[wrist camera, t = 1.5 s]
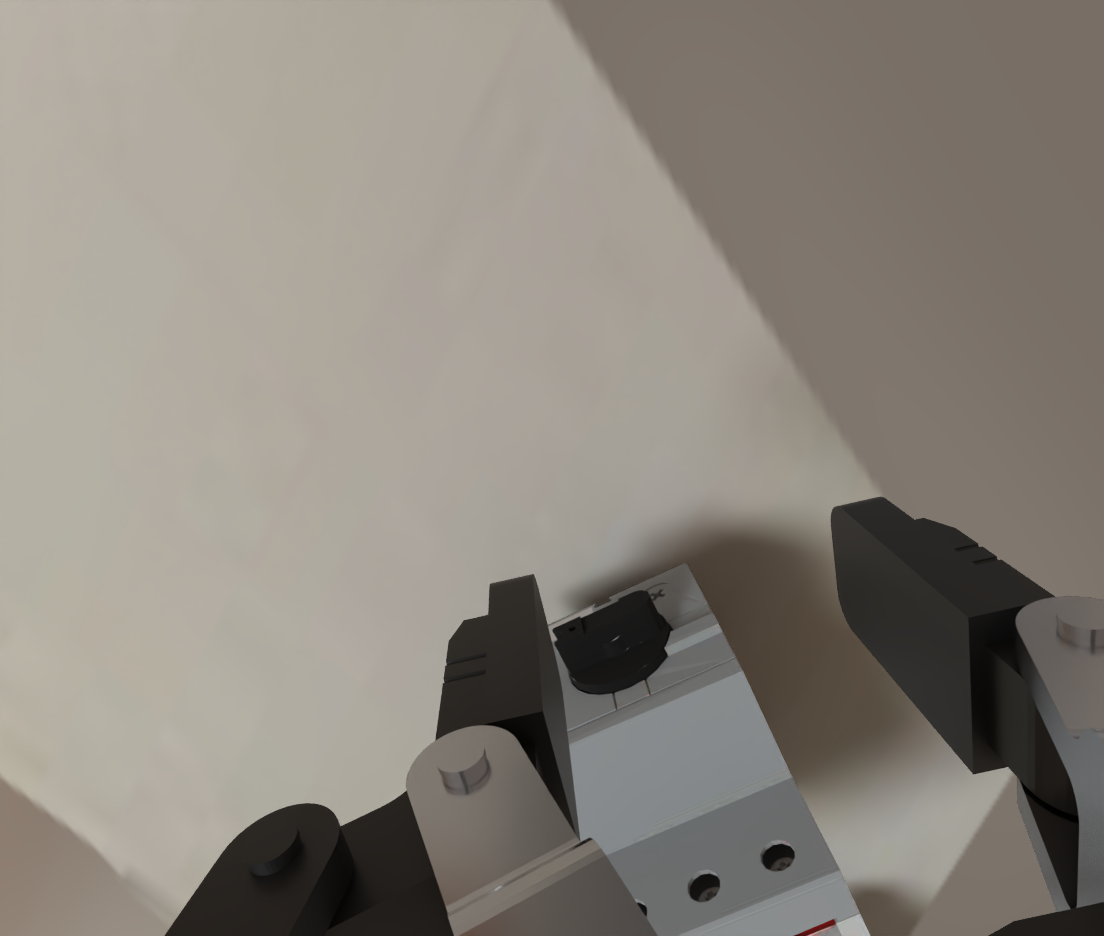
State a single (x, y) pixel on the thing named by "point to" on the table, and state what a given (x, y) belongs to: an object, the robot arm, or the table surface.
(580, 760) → the circuit breaker
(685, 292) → the table surface
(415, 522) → the table surface
